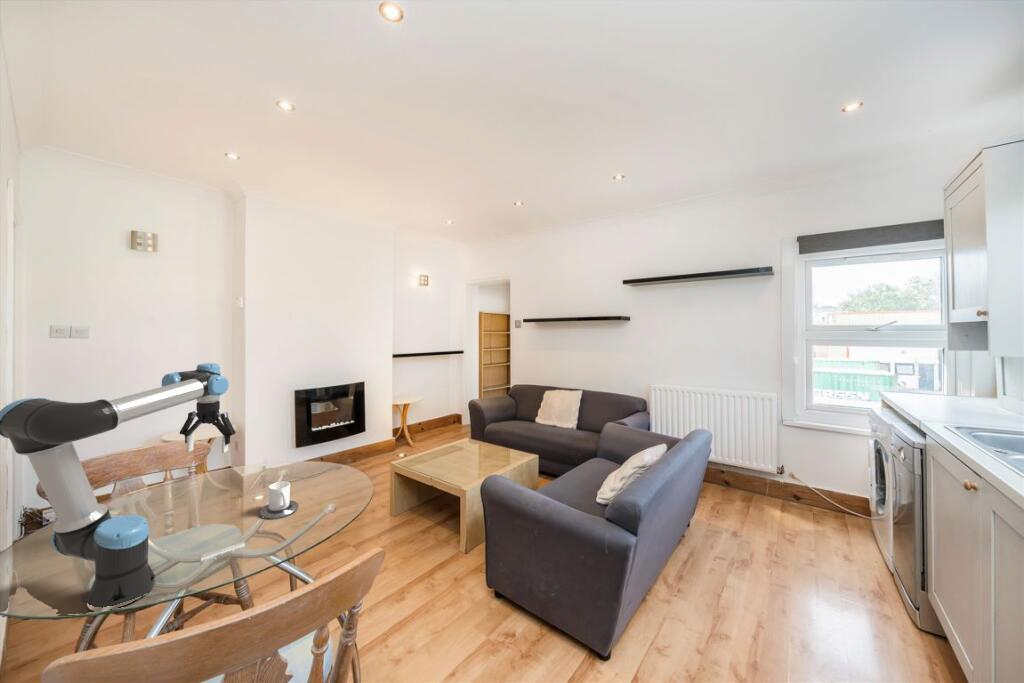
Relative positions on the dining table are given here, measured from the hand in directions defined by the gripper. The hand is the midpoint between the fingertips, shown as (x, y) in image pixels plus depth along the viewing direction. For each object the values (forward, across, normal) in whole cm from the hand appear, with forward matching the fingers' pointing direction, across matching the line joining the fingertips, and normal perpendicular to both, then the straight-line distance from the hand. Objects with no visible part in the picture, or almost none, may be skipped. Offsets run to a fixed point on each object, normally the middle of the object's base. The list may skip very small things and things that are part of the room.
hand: (207, 451), depth 157 cm
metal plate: (+32, -23, -12) cm, 41 cm away
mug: (+31, -24, -12) cm, 41 cm away
